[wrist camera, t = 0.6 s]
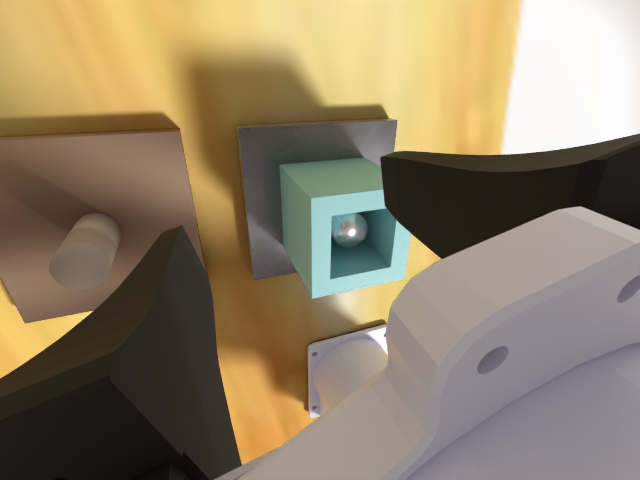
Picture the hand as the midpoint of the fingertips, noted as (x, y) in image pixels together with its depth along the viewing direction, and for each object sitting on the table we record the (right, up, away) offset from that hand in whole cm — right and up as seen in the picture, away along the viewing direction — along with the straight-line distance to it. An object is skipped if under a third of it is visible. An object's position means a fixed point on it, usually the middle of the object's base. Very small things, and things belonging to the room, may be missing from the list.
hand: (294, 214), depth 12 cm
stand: (+1, +2, +11) cm, 11 cm away
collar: (+1, +2, +10) cm, 11 cm away
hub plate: (-11, 0, +7) cm, 14 cm away
